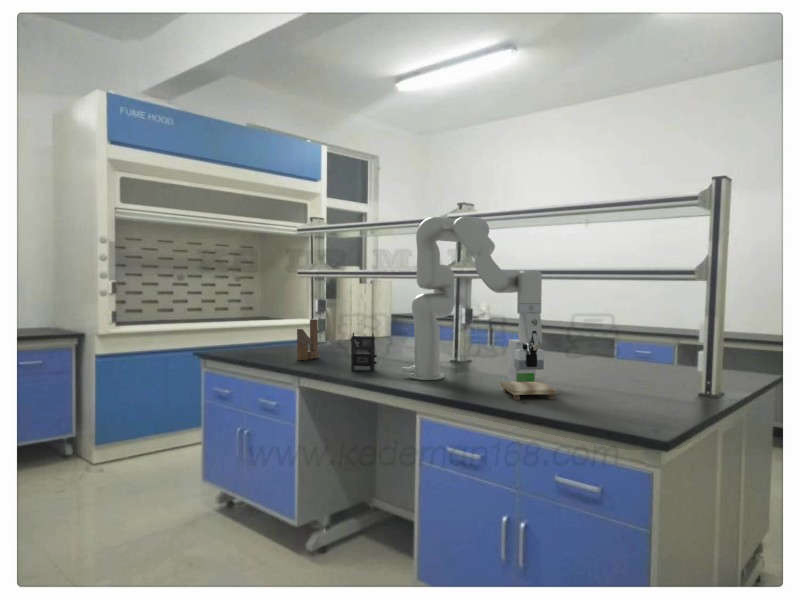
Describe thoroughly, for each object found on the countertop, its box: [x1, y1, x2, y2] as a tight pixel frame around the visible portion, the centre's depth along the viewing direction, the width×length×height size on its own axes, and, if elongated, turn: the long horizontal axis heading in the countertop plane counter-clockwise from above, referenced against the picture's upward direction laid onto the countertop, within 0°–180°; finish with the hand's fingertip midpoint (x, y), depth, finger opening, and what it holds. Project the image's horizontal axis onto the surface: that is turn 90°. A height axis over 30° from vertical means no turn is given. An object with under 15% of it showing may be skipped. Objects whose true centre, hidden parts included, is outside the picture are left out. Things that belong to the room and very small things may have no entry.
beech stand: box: [500, 381, 558, 401], centre depth 181 cm, size 14×14×3 cm
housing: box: [514, 348, 545, 371], centre depth 180 cm, size 5×8×6 cm, turn 96°
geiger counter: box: [350, 332, 377, 372], centre depth 226 cm, size 10×4×15 cm, turn 84°
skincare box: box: [507, 339, 537, 382], centre depth 200 cm, size 8×7×16 cm
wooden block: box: [296, 318, 320, 361], centre depth 254 cm, size 4×11×18 cm, turn 144°
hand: (528, 364), depth 180 cm, fingers closed on housing, 5 cm apart
